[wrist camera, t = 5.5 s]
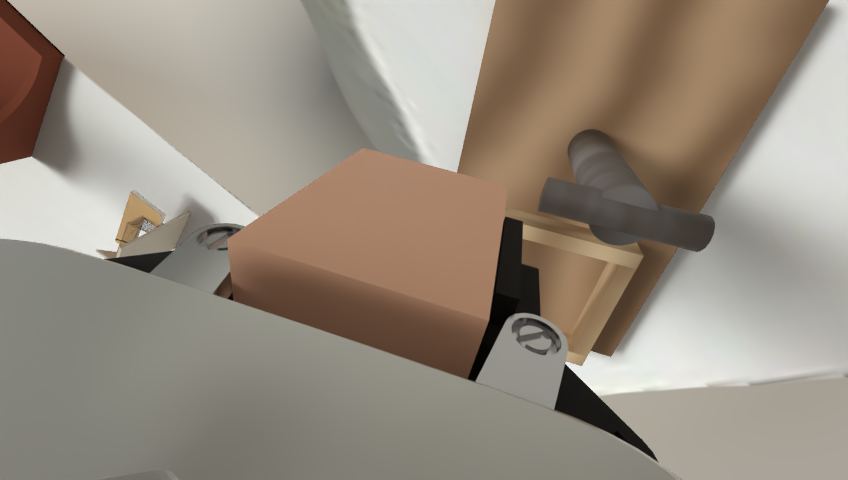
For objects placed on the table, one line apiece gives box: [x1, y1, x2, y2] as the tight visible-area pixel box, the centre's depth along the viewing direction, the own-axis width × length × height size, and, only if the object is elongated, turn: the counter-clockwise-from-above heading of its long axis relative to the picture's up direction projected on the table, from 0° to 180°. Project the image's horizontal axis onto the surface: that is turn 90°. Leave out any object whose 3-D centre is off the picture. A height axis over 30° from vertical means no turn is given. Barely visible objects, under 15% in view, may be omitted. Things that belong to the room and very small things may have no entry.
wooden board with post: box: [457, 0, 829, 366], centre depth 20 cm, size 15×24×12 cm, turn 170°
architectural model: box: [96, 136, 253, 259], centre depth 33 cm, size 3×7×7 cm, turn 141°
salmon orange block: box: [227, 148, 508, 379], centre depth 10 cm, size 4×4×6 cm
